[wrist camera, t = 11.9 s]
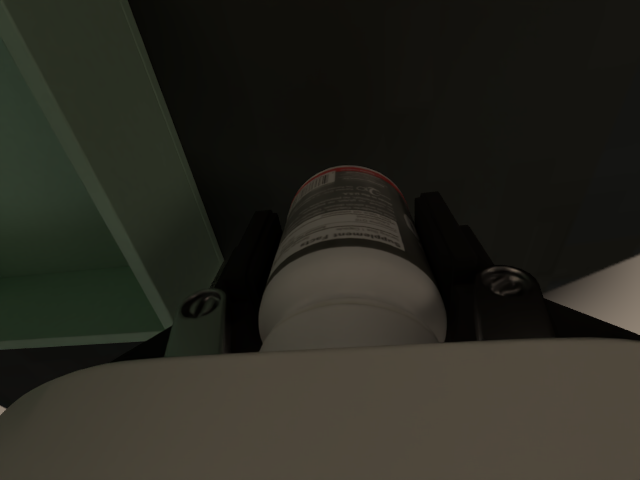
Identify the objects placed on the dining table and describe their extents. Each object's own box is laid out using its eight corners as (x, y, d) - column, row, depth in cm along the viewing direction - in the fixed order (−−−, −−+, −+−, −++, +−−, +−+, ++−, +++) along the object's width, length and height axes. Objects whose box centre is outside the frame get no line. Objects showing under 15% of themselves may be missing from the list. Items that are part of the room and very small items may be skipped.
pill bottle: (399, 266, 14) (454, 487, 7) (293, 263, 15) (247, 475, 8) (414, 161, 12) (519, 346, 5) (286, 160, 12) (209, 334, 5)
